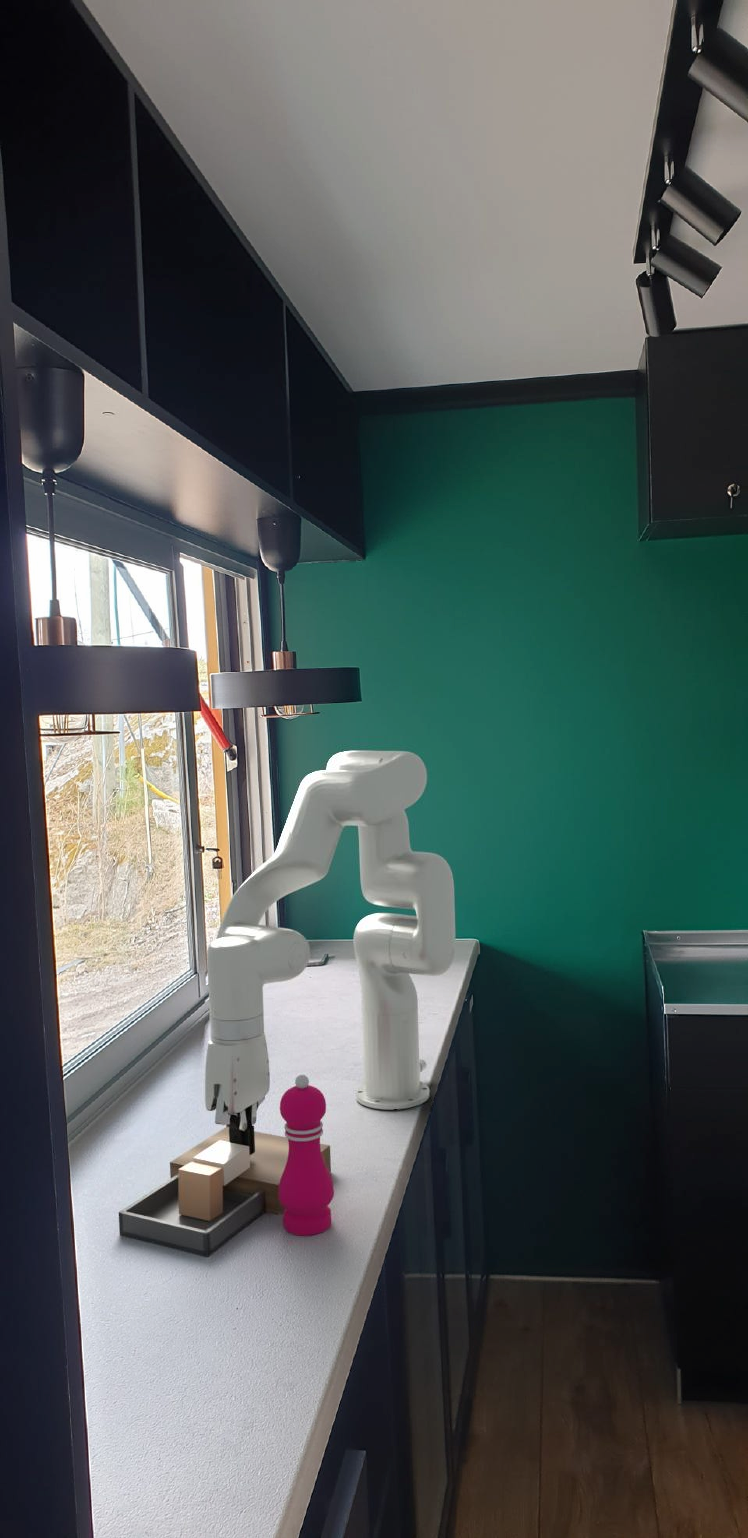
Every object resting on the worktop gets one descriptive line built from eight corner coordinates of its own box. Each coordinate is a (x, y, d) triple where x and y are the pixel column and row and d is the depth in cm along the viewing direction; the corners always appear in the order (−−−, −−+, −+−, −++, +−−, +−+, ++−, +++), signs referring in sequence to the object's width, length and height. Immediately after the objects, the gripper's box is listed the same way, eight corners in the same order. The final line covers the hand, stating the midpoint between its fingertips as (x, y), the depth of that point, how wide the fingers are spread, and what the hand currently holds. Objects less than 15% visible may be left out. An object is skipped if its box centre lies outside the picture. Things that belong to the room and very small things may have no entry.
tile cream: (220, 1160, 157) (219, 1140, 156) (250, 1167, 154) (249, 1146, 154) (194, 1178, 151) (193, 1157, 151) (224, 1185, 149) (223, 1163, 149)
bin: (181, 1193, 156) (180, 1172, 156) (265, 1211, 150) (264, 1190, 149) (119, 1234, 145) (118, 1212, 144) (207, 1256, 138) (206, 1233, 138)
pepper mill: (305, 1206, 151) (300, 1062, 149) (346, 1221, 146) (341, 1072, 145) (268, 1227, 145) (262, 1077, 144) (308, 1243, 141) (303, 1089, 139)
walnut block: (228, 1151, 170) (227, 1126, 169) (330, 1172, 161) (330, 1145, 161) (171, 1189, 157) (169, 1162, 157) (279, 1213, 149) (278, 1184, 149)
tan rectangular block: (191, 1161, 151) (178, 1169, 148) (222, 1167, 148) (209, 1175, 146) (192, 1205, 151) (178, 1213, 148) (222, 1212, 149) (209, 1220, 146)
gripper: (245, 1008, 164) (250, 1130, 165) (182, 1038, 151) (188, 1170, 152) (288, 1014, 161) (293, 1138, 162) (228, 1045, 147) (234, 1179, 149)
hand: (242, 1153), depth 157 cm, fingers closed
